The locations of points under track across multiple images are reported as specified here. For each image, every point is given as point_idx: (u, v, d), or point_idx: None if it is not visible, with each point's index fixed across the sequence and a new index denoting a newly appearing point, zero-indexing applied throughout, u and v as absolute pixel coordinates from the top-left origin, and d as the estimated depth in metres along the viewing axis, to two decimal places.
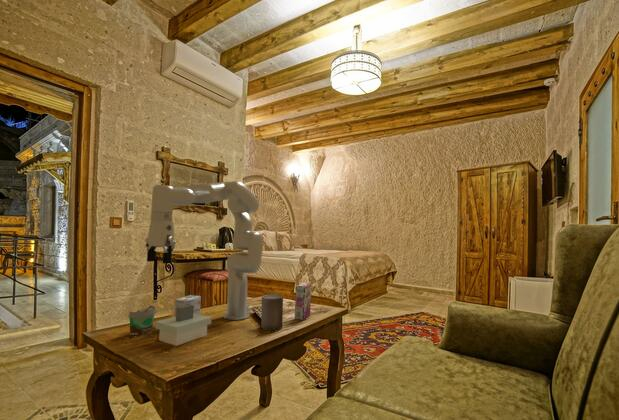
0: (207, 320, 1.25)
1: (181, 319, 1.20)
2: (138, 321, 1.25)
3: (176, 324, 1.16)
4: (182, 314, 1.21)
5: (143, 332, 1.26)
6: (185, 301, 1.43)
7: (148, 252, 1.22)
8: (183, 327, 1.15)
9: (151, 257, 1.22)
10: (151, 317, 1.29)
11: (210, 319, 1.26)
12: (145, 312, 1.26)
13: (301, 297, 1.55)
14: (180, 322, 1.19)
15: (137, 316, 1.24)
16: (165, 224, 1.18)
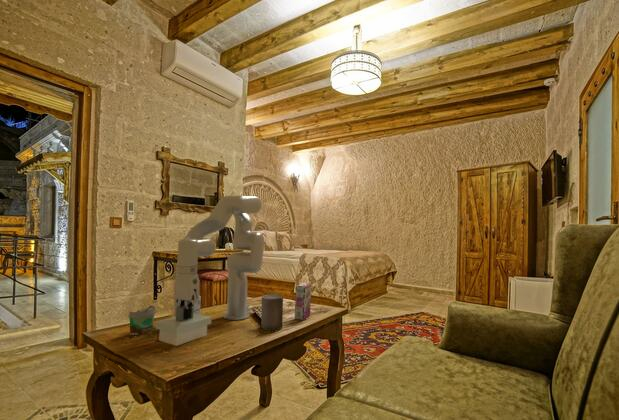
0: (207, 320, 1.25)
1: (181, 319, 1.20)
2: (138, 321, 1.25)
3: (176, 324, 1.16)
4: (182, 314, 1.21)
5: (143, 332, 1.26)
6: None
7: None
8: (183, 327, 1.15)
9: None
10: (151, 317, 1.29)
11: (210, 319, 1.26)
12: (145, 312, 1.26)
13: (301, 297, 1.55)
14: (180, 322, 1.19)
15: (137, 316, 1.24)
16: (191, 278, 1.21)
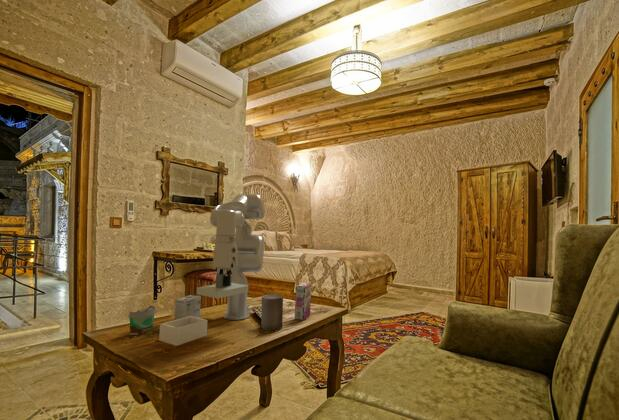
0: (244, 288, 1.30)
1: (220, 286, 1.25)
2: (138, 321, 1.25)
3: (217, 289, 1.21)
4: (221, 281, 1.26)
5: (143, 332, 1.26)
6: (185, 301, 1.43)
7: None
8: (223, 292, 1.20)
9: None
10: (151, 317, 1.29)
11: (247, 287, 1.31)
12: (145, 312, 1.26)
13: (301, 297, 1.55)
14: (220, 288, 1.24)
15: (137, 316, 1.24)
16: (230, 247, 1.26)
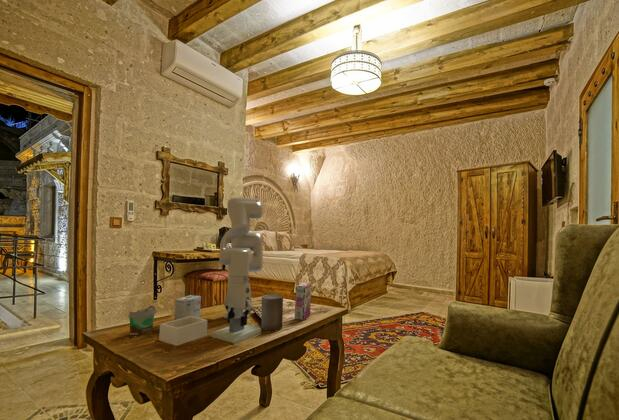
0: (257, 331, 1.31)
1: (234, 330, 1.26)
2: (138, 321, 1.25)
3: (231, 335, 1.22)
4: (235, 325, 1.26)
5: (143, 332, 1.26)
6: (185, 301, 1.43)
7: (229, 314, 1.29)
8: (238, 338, 1.21)
9: None
10: (151, 317, 1.29)
11: (260, 330, 1.32)
12: (145, 312, 1.26)
13: (301, 297, 1.55)
14: (234, 333, 1.24)
15: (137, 316, 1.24)
16: (244, 287, 1.26)
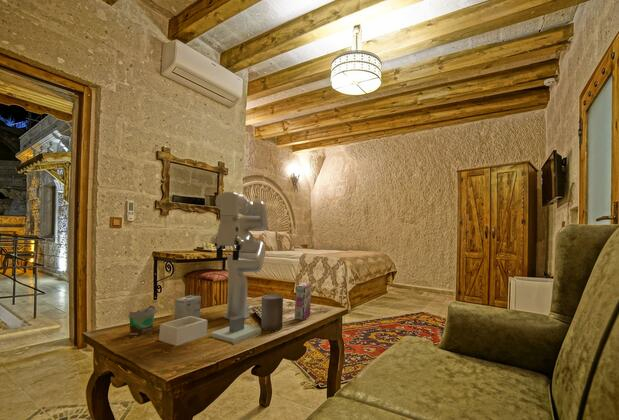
0: (257, 331, 1.31)
1: (234, 330, 1.26)
2: (138, 321, 1.25)
3: (231, 335, 1.22)
4: (235, 325, 1.26)
5: (143, 332, 1.26)
6: (185, 301, 1.43)
7: (217, 250, 1.39)
8: (238, 338, 1.21)
9: (219, 255, 1.40)
10: (151, 317, 1.29)
11: (260, 330, 1.32)
12: (145, 312, 1.26)
13: (301, 297, 1.55)
14: (234, 333, 1.24)
15: (137, 316, 1.24)
16: (234, 226, 1.36)
